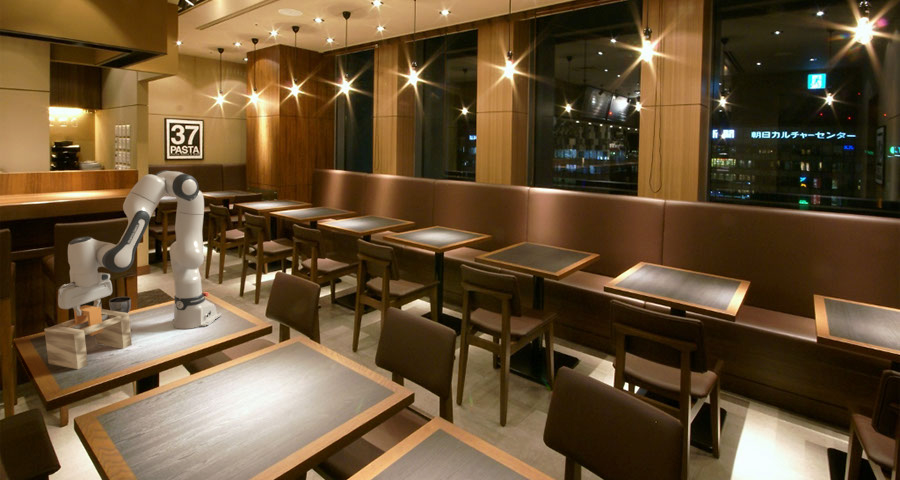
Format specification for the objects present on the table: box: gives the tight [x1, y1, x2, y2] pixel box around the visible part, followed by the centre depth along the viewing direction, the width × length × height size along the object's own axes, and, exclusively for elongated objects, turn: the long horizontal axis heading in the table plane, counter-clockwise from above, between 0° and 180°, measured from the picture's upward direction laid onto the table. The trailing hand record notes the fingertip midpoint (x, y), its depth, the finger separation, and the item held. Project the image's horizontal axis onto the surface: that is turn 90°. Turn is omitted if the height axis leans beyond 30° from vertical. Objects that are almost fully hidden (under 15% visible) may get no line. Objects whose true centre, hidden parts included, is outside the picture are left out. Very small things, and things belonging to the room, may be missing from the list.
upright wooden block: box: [73, 305, 103, 337], centre depth 200 cm, size 5×8×10 cm, turn 76°
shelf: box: [44, 308, 133, 370], centre depth 202 cm, size 24×14×14 cm, turn 166°
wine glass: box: [108, 296, 133, 332], centre depth 224 cm, size 8×8×15 cm
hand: (87, 312), depth 199 cm, fingers closed on upright wooden block, 5 cm apart
